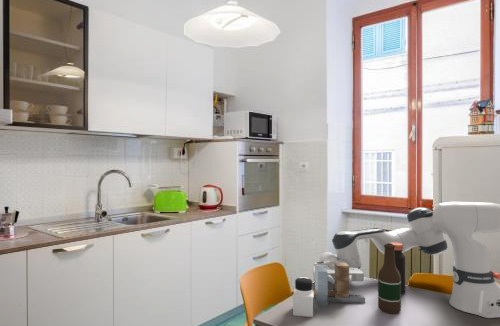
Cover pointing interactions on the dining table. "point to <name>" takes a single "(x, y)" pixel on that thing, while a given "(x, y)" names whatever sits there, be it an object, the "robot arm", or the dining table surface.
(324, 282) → the rail and cabinet
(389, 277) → the beer bottle
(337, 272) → the carriage
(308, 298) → the medicine bottle
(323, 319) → the dining table surface
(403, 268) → the vinegar
